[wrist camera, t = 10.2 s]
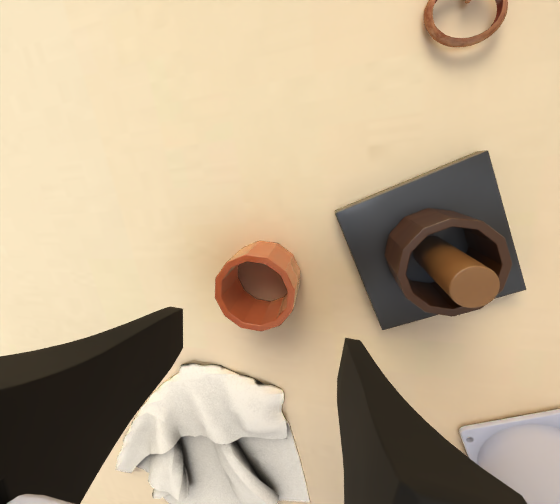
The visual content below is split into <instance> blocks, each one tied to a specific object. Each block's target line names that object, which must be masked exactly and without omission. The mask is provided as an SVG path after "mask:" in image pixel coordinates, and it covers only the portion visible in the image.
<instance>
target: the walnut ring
mask: <svg viewBox="0 0 560 504" xmlns="http://www.w3.org/2000/svg"><path fill="white" fill-rule="evenodd" d="M450 227H459V228H462V229H463V230H464V234H465V237H466V240H467V243H468V249H467V252H466V254H467V255H469V256H470V257H472V258H474V259H475V260H477V261H478V262H480V263H482V264H483V265H485V266H486V267H488V268H490V269H491V270H493V271H494V272H495V273H496V274H497V276H498V278H499V282H500V288H499V292H498V294H499V293H500V292H501V291H502V290H503V289H504V286H505V284H506V281H507V278H508V275H509V273H510V270H511V267H512V260H511V257H510V253H509V250H508V246H507V243H506V239H505V238H504V237H503V236H502V235H500V234H499V233H498V232H497V231H495V230H494V229H493V228H491V227H490V226H489V225H487V224H486V223H485V222H484V221H481V220H478V219H475V218H472V217H469V216H466V215H463V214H460V213H457V212H454V211H451V210H442V209H433V208H426V209H424V210H421V211H418V212H416V213H413V214H411V215H408V216H405V217H404V218H403V219H402V220H401V221H400V222H399V224H398V225H397V226H396V227H395V228H394V229H393V230H392V231H391V232H390V234H389V236H388V240H387V245H386V249H385V254H384V255H385V258H386V261H387V264H388V266H389V269H390V272H391V274H392V276H393V277H394V279H395V281H396V282H397V284H398V286H399V287H400V289H401V291H402V292H403V294H404V296H405V297H406V298H407V299H408V300H410V301H411V302H412V303H414V304H415V305H416V306H418V307H419V308H421V309H422V310H423V311H425V312H428V313H434V314H440V315H447V316H457V315H460V314H464V313H467V312H471V311H475V310H478V309H481V308H482V307H484V306H485V305H484V306H481V307H477V308H467V307H463V306H460V305H458V304H457V303H455V302H454V301H453V300H452V299H451V298H450V296H449V295H448V294H447V293H446V292H445V291H444V290H443V289H442V288H441V287H440V286H439V285H438V284H437V283H436V282H432V283H425V282H418V281H412V280H410V279H409V278H408V277H407V275H406V271H407V267H408V263H409V259H410V255H411V252H412V251H413V250H414V249H415V248H416V247H417V246H418V245H419V244H420V243H421V242H422V241H423V240H424V239H425V238H426V237H427V236H428V235H430V234H433V233H436V232H439V231H441V230H444V229H447V228H450ZM498 294H497V295H498ZM497 295H496V296H497Z"/></svg>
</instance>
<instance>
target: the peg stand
mask: <svg viewBox="0 0 560 504" xmlns="http://www.w3.org/2000/svg"><path fill="white" fill-rule="evenodd" d="M426 208H433V209H442V210H451V211H454V212H457V213H460V214H463V215H466V216H469V217H472V218H475V219H478V220H481V221H484V222H485V223H486V224H487V225H489V226H490V227H491V228H493V229H494V230H495V231H497V232H498V233H499V234H500V235H502V236H503V237H504V238H505V239H506V243H507V246H508V250H509V253H510V257H511V260H512V267H511V270H510V273H509V275H508V278H507V281H506V284H505V286H504V289H503V290H502V291H501V292H500V293H499V294H498V292H499V288H500V282H499V278H498V276H497V274H496V273H495V272H494V271H493V270H491V269H490V268H488V267H486V266H485V265H483V264H482V263H480V262H478V261H477V260H475V259H474V258H472V257H470V256H469V255H467V254H466V252H467V249H468V243H467V240H466V237H465V234H464V230H463V229H462V228H459V227H450V228H447V229H444V230H441V231H439V232H436V233H433V234H430V235H428V236H427V237H426V238H425V239H424V240H423V241H422V242H421V243H420V244H419V245H418V246H417V247H416V248H415V249H414V250H413V251H412V252H411V255H410V259H409V263H408V267H407V271H406V275H407V277H408V278H409V279H410V280H412V281H418V282H425V283H432V282H436V283H437V284H438V285H439V286H440V287H441V288H442V289H443V290H444V291H445V292H446V293H447V294H448V295H449V296H450V298H451V299H452V300H453V301H454V302H455V303H457V304H458V305H460V306H463V307H467V308H477V307H481V306H484V305H486V304H488V303H490V302H491V301H492V300H493V299H495V298H498V297H502V296H505V295H509V294H512V293H516V292H520V291H523V290H526V287H525V283H524V279H523V276H522V272H521V269H520V265H519V261H518V258H517V254H516V250H515V247H514V243H513V240H512V236H511V232H510V229H509V225H508V221H507V218H506V214H505V211H504V207H503V203H502V200H501V196H500V192H499V189H498V185H497V182H496V178H495V174H494V171H493V167H492V163H491V160H490V156H489V153H488V151H478V152H475V153H473V154H470V155H468V156H465V157H463V158H460V159H458V160H456V161H453V162H451V163H448V164H446V165H444V166H441V167H439V168H436V169H434V170H432V171H429V172H427V173H424V174H422V175H419V176H417V177H415V178H412V179H410V180H407V181H405V182H403V183H400V184H398V185H395V186H393V187H391V188H388V189H386V190H383V191H381V192H378V193H376V194H374V195H371V196H369V197H366V198H364V199H362V200H359V201H357V202H354V203H352V204H350V205H347V206H345V207H342V208H340V209H337V210H335V214H336V217H337V219H338V222H339V224H340V227H341V229H342V231H343V234H344V236H345V239H346V241H347V244H348V246H349V249H350V251H351V254H352V256H353V259H354V261H355V264H356V266H357V269H358V271H359V274H360V276H361V279H362V281H363V284H364V286H365V288H366V291H367V293H368V296H369V298H370V301H371V303H372V306H373V308H374V311H375V313H376V316H377V318H378V321H379V323H380V326H381V328H382V330H386V329H389V328H393V327H396V326H400V325H403V324H407V323H410V322H414V321H417V320H421V319H424V318H428V317H431V316H435V315H438V314H434V313H428V312H425V311H423V310H422V309H421V308H419V307H418V306H416V305H415V304H414V303H412V302H411V301H410V300H408V299H407V298H406V297H405V296H404V294H403V292H402V291H401V289H400V287H399V286H398V284H397V282H396V281H395V279H394V277H393V276H392V274H391V272H390V269H389V266H388V264H387V261H386V258H385V255H384V254H385V249H386V245H387V240H388V236H389V234H390V232H391V231H392V230H393V229H394V228H395V227H396V226H397V225H398V224H399V222H400V221H401V220H402V219H403V218H404V217H405V216H408V215H411V214H413V213H416V212H418V211H421V210H424V209H426ZM497 294H498V295H497ZM496 295H497V296H496Z"/></svg>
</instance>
